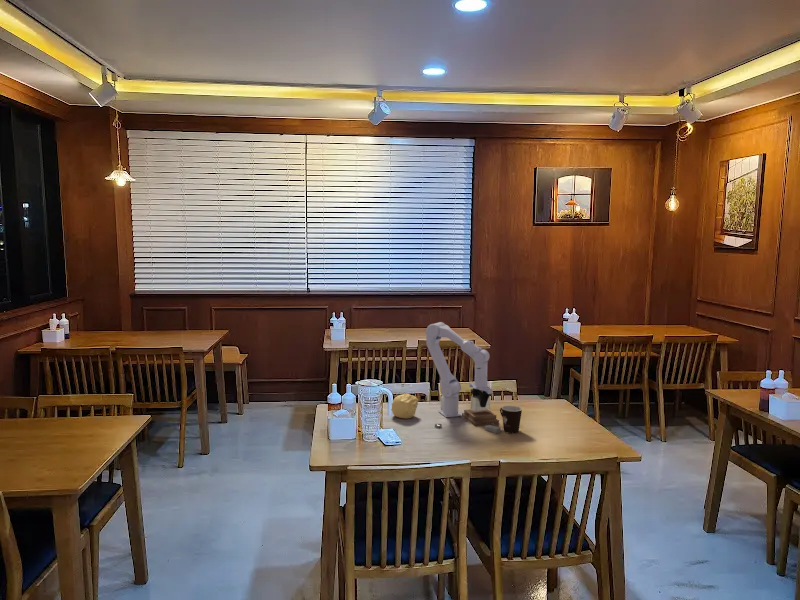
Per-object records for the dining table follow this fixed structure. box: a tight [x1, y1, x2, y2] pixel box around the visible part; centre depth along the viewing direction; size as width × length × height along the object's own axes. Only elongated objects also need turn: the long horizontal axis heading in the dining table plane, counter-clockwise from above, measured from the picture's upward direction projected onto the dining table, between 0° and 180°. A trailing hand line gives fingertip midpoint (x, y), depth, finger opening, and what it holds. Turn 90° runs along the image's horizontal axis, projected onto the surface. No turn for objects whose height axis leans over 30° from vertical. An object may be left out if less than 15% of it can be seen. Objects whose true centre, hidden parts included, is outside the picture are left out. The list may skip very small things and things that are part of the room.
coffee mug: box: [499, 405, 523, 434], centre depth 243 cm, size 12×9×10 cm
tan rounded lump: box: [391, 392, 419, 420], centre depth 260 cm, size 12×12×11 cm
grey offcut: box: [484, 424, 502, 434], centre depth 242 cm, size 6×3×2 cm, turn 46°
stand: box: [461, 408, 500, 427], centre depth 256 cm, size 14×12×4 cm
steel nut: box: [434, 423, 443, 429], centre depth 246 cm, size 3×3×1 cm
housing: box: [470, 395, 491, 412], centre depth 256 cm, size 4×8×6 cm, turn 119°
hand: (480, 405), depth 256 cm, fingers closed on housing, 4 cm apart
